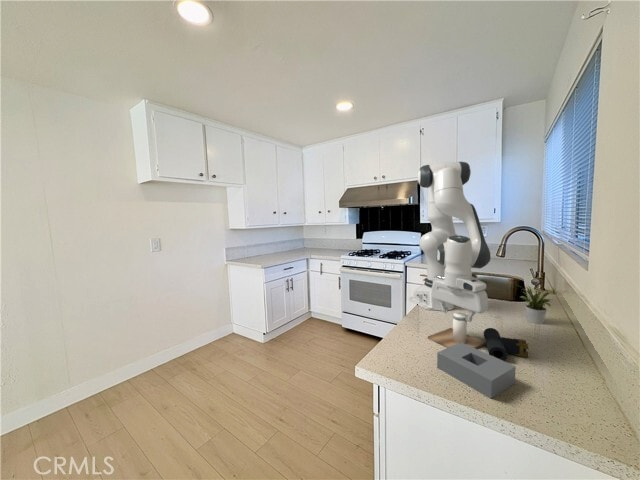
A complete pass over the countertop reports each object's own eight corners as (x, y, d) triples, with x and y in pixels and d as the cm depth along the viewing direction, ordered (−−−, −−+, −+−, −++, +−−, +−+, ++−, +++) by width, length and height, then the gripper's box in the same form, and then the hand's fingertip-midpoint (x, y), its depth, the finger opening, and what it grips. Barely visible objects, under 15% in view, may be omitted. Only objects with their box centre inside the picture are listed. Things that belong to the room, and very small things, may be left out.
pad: (427, 338, 99) (427, 336, 99) (450, 329, 106) (450, 327, 106) (462, 355, 87) (462, 353, 87) (486, 344, 93) (486, 342, 93)
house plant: (507, 320, 112) (508, 284, 110) (514, 312, 121) (516, 278, 119) (550, 331, 101) (553, 291, 100) (555, 320, 110) (557, 283, 109)
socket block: (437, 367, 81) (437, 352, 80) (460, 356, 86) (461, 342, 86) (490, 398, 67) (491, 380, 66) (514, 383, 72) (515, 366, 72)
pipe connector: (521, 331, 92) (533, 352, 78) (521, 345, 92) (533, 368, 79) (483, 326, 97) (489, 345, 84) (483, 340, 97) (488, 360, 84)
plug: (449, 339, 96) (450, 314, 95) (457, 336, 98) (457, 311, 97) (461, 345, 92) (462, 318, 91) (469, 341, 94) (469, 315, 93)
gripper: (427, 275, 102) (427, 309, 103) (480, 288, 84) (478, 328, 85) (438, 273, 104) (437, 305, 106) (491, 285, 86) (489, 324, 88)
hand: (456, 316), depth 95 cm, fingers open, 8 cm apart
